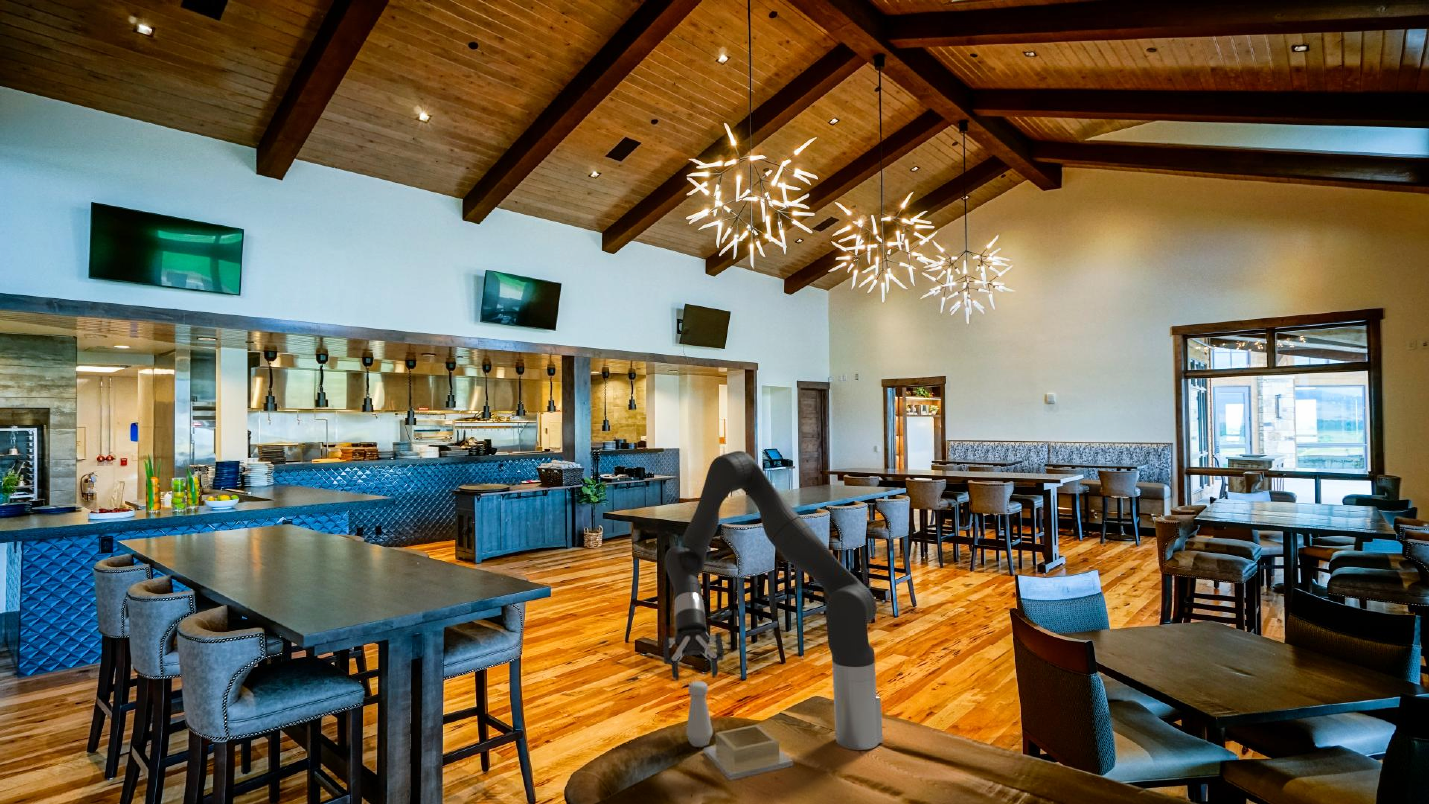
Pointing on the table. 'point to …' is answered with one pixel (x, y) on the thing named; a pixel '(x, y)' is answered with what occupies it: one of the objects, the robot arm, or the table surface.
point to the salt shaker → (698, 716)
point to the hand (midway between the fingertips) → (695, 677)
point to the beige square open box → (746, 752)
